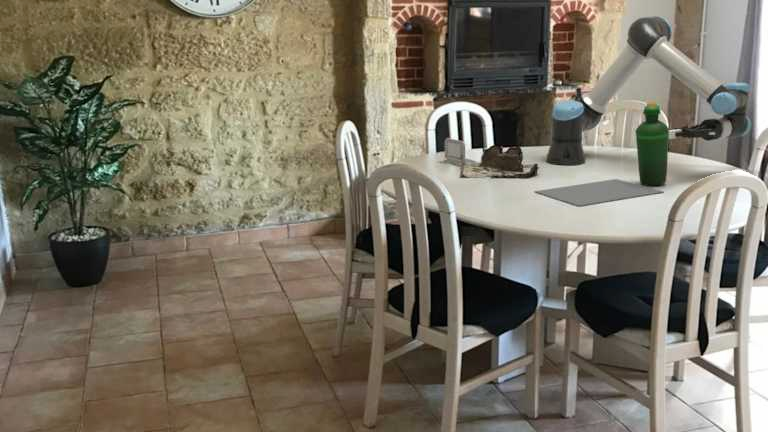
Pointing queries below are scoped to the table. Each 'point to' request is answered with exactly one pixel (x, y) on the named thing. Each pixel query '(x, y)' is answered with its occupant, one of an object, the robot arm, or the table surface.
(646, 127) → the bottle
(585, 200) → the mat
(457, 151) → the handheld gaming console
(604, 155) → the table surface
